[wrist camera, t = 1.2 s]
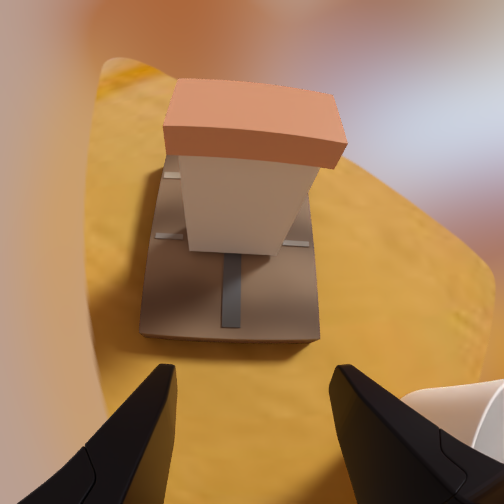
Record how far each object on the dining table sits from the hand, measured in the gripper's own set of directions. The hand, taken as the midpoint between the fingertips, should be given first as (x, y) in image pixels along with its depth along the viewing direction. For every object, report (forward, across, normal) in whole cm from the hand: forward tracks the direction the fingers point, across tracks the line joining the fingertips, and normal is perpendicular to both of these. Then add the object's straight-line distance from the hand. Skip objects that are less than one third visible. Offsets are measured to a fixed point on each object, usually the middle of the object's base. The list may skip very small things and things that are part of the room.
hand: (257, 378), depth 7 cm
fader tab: (+14, 0, +1) cm, 14 cm away
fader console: (+17, 0, +2) cm, 17 cm away
